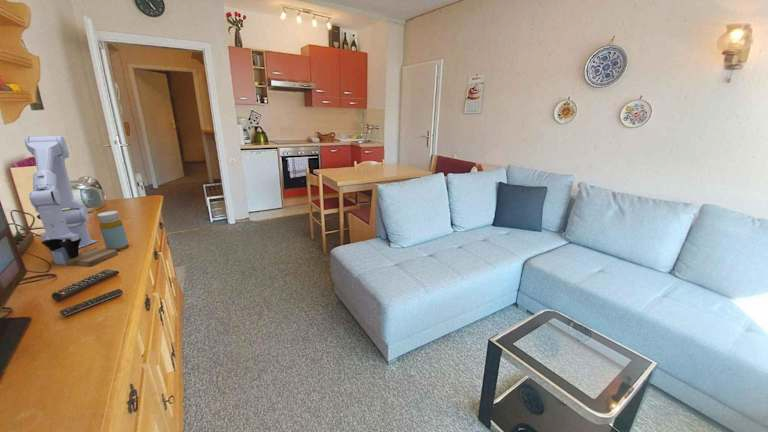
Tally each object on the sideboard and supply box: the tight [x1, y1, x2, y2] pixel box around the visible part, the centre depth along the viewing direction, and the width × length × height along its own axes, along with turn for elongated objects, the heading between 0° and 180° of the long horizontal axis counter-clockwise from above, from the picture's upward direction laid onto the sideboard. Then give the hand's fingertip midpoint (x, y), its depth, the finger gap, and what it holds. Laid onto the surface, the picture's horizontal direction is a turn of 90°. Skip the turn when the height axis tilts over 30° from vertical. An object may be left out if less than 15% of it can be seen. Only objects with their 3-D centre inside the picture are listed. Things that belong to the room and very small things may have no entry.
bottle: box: [96, 210, 130, 252], centre depth 125 cm, size 7×7×15 cm
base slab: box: [67, 247, 119, 268], centre depth 117 cm, size 10×10×2 cm
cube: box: [50, 247, 80, 266], centre depth 116 cm, size 5×5×5 cm
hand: (67, 257), depth 116 cm, fingers open, 6 cm apart
